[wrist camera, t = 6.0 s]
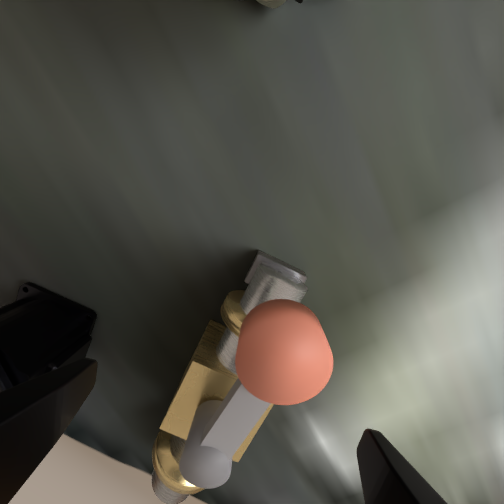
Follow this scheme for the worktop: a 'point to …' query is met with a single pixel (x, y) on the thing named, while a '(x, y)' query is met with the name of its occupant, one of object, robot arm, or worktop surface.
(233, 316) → the valve body
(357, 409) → the worktop surface
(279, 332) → the lever
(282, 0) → the ball valve
